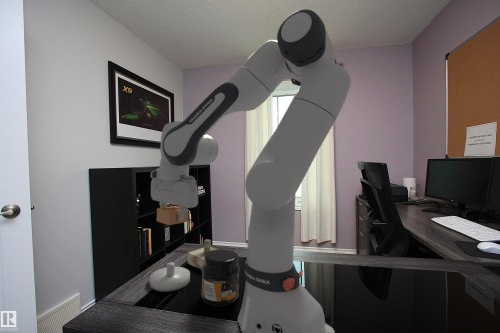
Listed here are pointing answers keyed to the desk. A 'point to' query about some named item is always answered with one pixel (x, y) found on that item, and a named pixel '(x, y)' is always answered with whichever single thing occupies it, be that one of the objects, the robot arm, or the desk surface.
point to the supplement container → (220, 277)
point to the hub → (169, 278)
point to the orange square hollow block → (170, 215)
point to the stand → (199, 255)
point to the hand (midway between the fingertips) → (172, 217)
